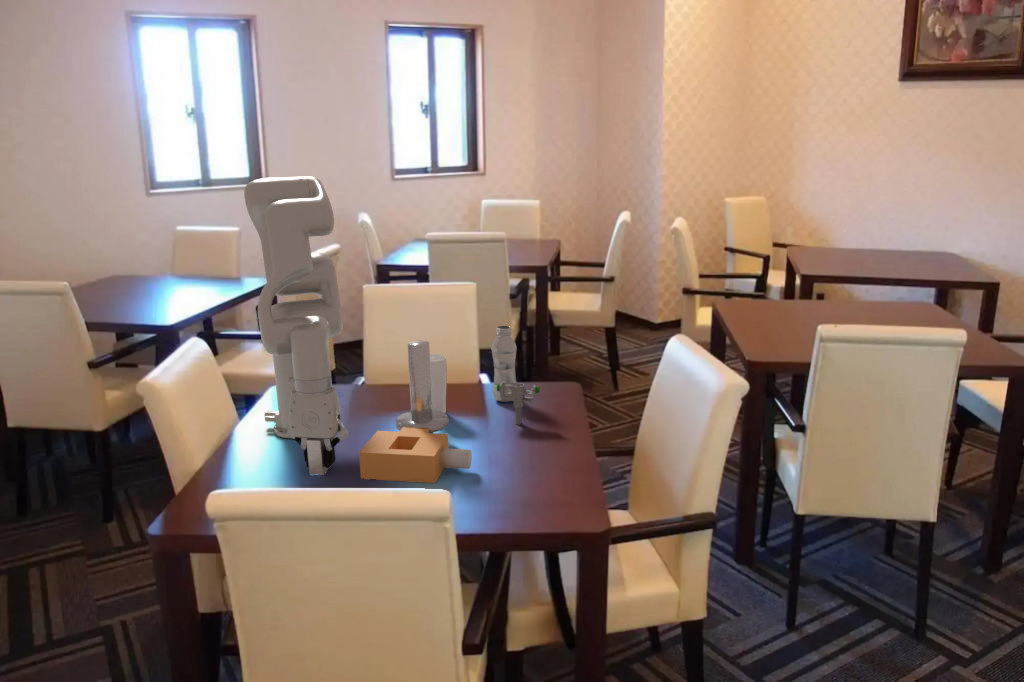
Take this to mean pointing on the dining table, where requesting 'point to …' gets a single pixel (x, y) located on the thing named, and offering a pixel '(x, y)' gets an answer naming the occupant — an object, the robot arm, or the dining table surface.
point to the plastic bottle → (503, 359)
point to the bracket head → (410, 456)
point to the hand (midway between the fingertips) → (320, 464)
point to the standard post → (421, 392)
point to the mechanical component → (517, 396)
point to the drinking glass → (438, 381)
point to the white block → (316, 456)
